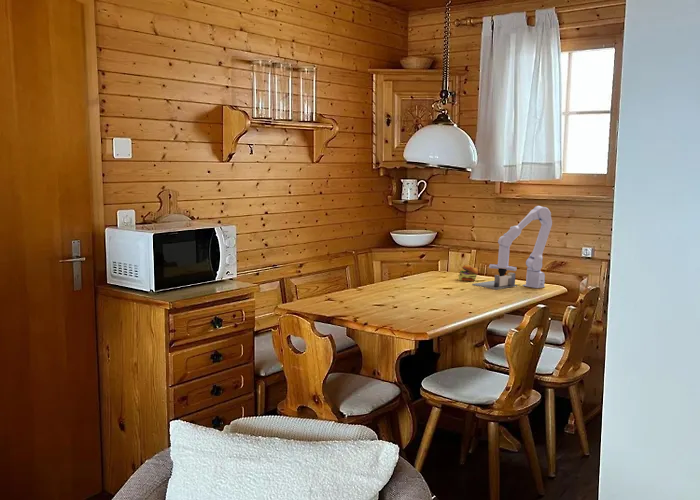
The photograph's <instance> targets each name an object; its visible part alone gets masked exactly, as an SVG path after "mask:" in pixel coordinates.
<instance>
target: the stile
mask: <svg viewBox="0 0 700 500" xmlns="http://www.w3.org/2000/svg"><path fill="white" fill-rule="evenodd" d="M507 274H510V276H512V278H509V279H508V286H514V285H516V273H515V272H507Z"/></svg>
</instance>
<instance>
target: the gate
mask: <svg viewBox="0 0 700 500" xmlns="http://www.w3.org/2000/svg"><path fill="white" fill-rule="evenodd" d="M509 278H512V276H510V274H508V273H506V275H504V276H500V275H499V286H506V285H508V279H509Z"/></svg>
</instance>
